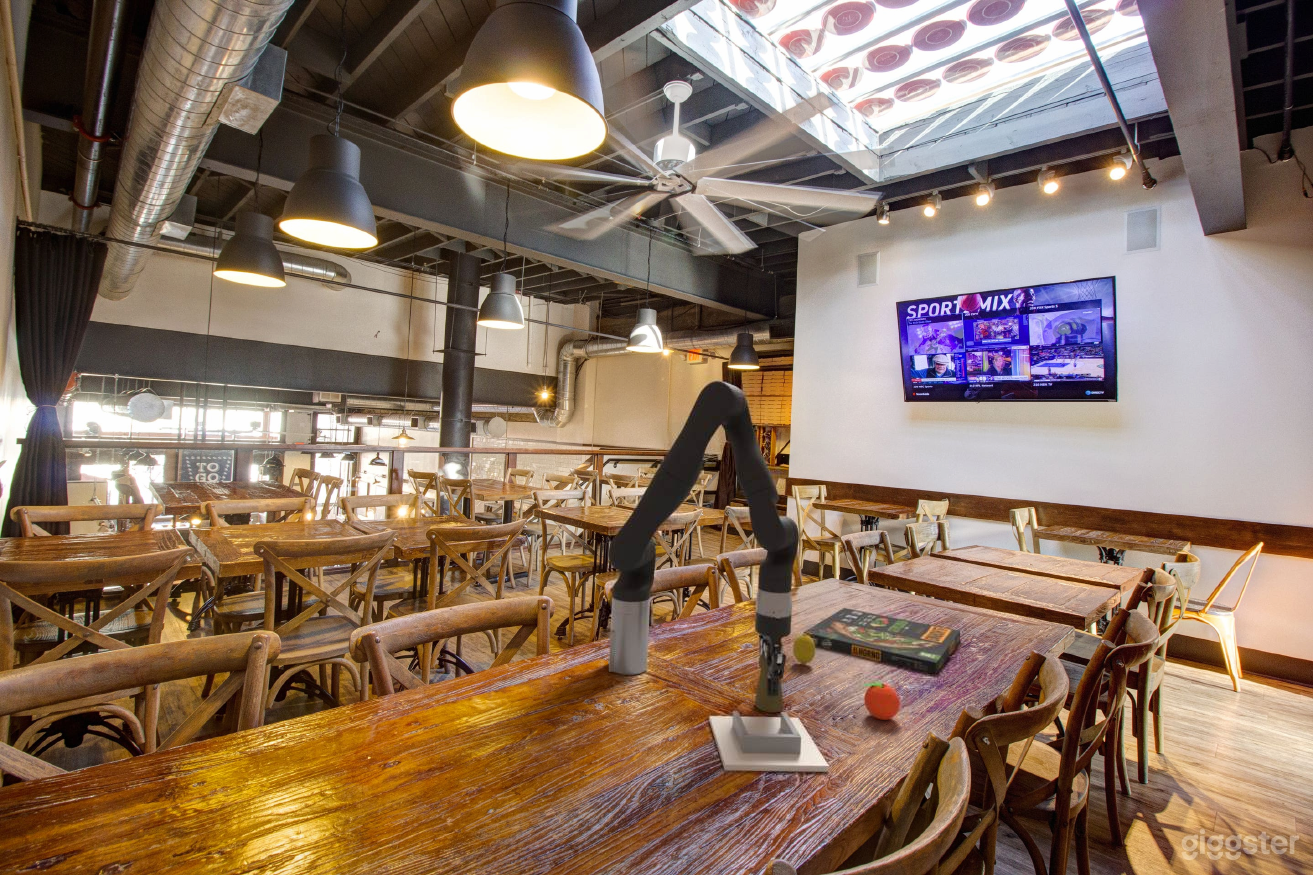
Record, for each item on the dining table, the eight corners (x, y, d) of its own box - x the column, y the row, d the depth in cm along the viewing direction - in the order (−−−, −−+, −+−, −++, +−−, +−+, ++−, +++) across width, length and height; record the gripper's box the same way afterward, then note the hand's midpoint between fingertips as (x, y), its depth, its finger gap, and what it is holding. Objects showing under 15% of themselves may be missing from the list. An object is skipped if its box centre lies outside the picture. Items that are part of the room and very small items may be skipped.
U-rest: (724, 770, 102) (725, 746, 102) (709, 720, 120) (710, 700, 120) (828, 771, 103) (829, 748, 103) (797, 722, 121) (798, 702, 121)
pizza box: (843, 618, 200) (844, 607, 200) (959, 642, 179) (960, 630, 179) (803, 644, 171) (803, 631, 171) (935, 676, 151) (936, 662, 151)
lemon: (810, 670, 150) (812, 638, 150) (789, 665, 152) (790, 633, 153) (817, 664, 154) (818, 633, 154) (796, 659, 157) (797, 628, 157)
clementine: (857, 720, 123) (858, 685, 123) (859, 707, 130) (860, 674, 130) (899, 728, 120) (900, 693, 120) (899, 714, 127) (900, 680, 127)
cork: (786, 703, 129) (788, 652, 129) (779, 714, 124) (782, 661, 124) (758, 697, 132) (761, 647, 132) (751, 707, 126) (753, 655, 126)
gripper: (749, 600, 135) (745, 677, 135) (764, 619, 120) (760, 705, 120) (782, 601, 135) (778, 678, 135) (800, 620, 121) (796, 706, 121)
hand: (769, 690), depth 128 cm, fingers closed on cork, 4 cm apart
